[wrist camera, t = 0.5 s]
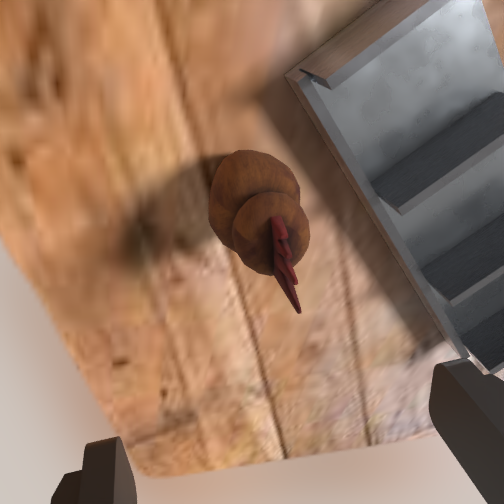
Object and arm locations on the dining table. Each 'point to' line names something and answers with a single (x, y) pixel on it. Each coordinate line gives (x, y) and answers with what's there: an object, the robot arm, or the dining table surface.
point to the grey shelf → (424, 152)
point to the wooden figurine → (260, 215)
